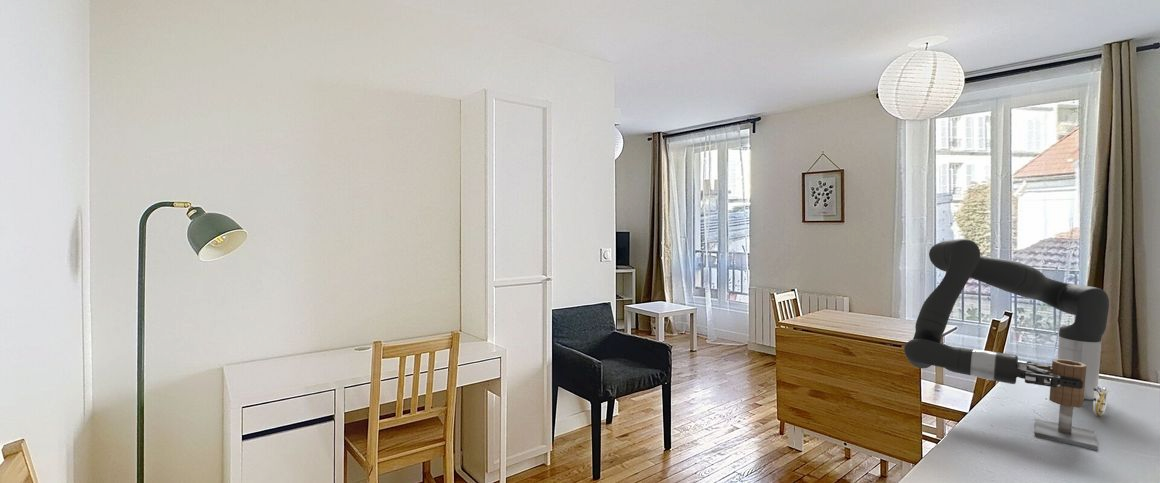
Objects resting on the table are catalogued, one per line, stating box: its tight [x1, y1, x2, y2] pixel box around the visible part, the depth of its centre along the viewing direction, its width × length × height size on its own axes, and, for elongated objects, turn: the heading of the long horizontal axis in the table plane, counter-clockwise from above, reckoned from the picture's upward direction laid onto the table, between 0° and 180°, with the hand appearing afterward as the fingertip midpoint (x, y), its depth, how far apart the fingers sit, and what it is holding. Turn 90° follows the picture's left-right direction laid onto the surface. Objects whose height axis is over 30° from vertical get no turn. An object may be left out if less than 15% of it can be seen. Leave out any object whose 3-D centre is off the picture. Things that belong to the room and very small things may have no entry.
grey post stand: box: [1034, 404, 1099, 451], centre depth 128 cm, size 11×11×11 cm
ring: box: [1092, 385, 1110, 417], centre depth 141 cm, size 7×3×8 cm, turn 117°
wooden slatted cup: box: [1048, 358, 1086, 408], centre depth 127 cm, size 6×6×10 cm
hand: (1081, 381), depth 126 cm, fingers closed on wooden slatted cup, 6 cm apart
